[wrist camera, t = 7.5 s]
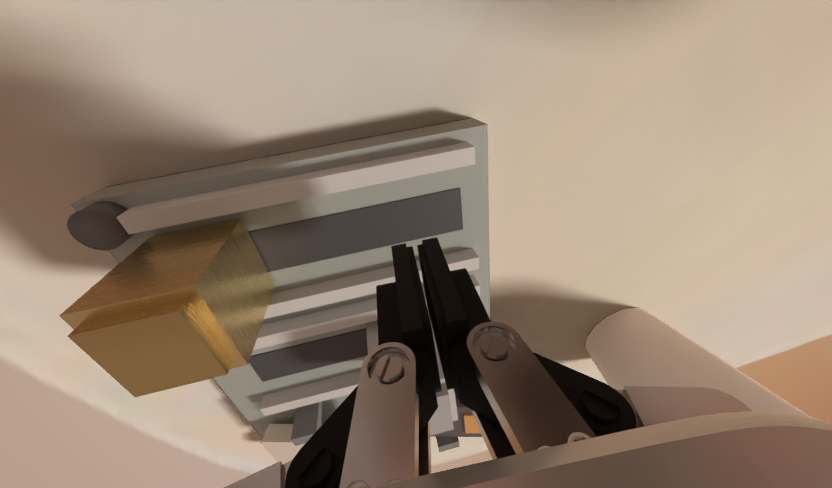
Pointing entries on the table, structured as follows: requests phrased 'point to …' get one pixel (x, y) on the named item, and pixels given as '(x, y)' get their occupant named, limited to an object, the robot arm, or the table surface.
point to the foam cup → (670, 361)
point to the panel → (317, 248)
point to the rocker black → (463, 424)
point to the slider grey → (445, 398)
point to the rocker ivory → (280, 442)
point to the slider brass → (176, 309)
